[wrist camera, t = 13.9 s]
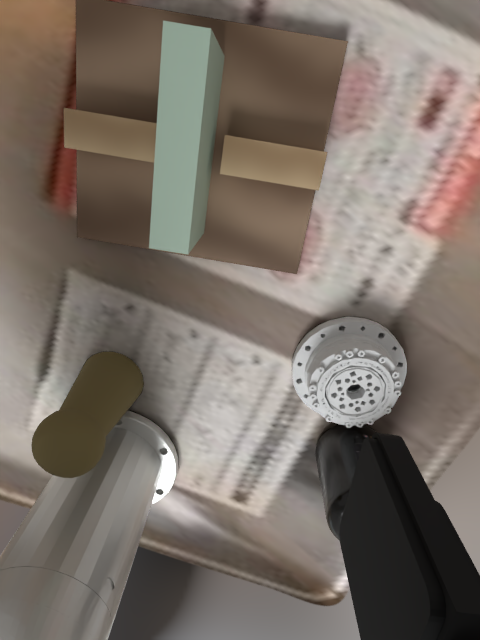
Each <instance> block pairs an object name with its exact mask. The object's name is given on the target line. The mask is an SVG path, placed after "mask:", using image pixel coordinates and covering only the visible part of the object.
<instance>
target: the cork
mask: <svg viewBox="0 0 480 640" xmlns="http://www.w3.org/2000/svg"><path fill="white" fill-rule="evenodd" d="M143 385H144V382H143V375H142V373H141V371H140V369H139V367H138V366H137V365H136V364H135V363H134V362H133V361H132V360H131V359H129V358H128V357H126V356H124V355H123V354H119V353H116V352H100V353H97V354H94V355H93V356H91V357H90V358H89V359H87V361H86V363H85V364H84V366H83V368H82V370H81V371H80V373H79V375H78V377H77V379H76V381H75V382H74V384H73V386H72V388H71V390H70V392H69V393H68V395H67V397H66V399H65V401H64V403H63V404H62V406H61V408H60V410H59V411H56V412H54V413H53V414H51V415H50V416H48V417H47V418H45V419H44V420H43V421H42V422H41V423H40V424H39V426H38V428H37V429H36V431H35V433H34V435H33V438H32V452H33V456H34V459H35V460H36V462H37V463H38V465H39V466H41V467H42V468H43V469H44V470H45V471H47V472H48V473H50V474H52V475H54V476H58V477H62V478H74V477H78V476H81V475H84V474H86V473H87V472H89V471H90V470H92V469H93V468H94V467H95V466H96V465H97V463H98V462H99V460H100V459H101V457H102V455H103V453H104V448H105V443H106V436H107V435H108V434H109V432H110V431H111V430H112V429H113V427H114V426H115V425H116V424H117V423H118V421H119V420H120V419H121V418H122V416H123V415H124V414H125V413H126V412H127V410H128V409H129V408H130V407H131V405H132V404H133V403H134V402H135V401H136V399H137V398H138V397H139V395H140V394H141V392H142V389H143Z"/></svg>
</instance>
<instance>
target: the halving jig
mask: <svg viewBox="0 0 480 640" xmlns="http://www.w3.org/2000/svg"><path fill="white" fill-rule="evenodd" d="M163 21H169V22H175V23H181V24H187V25H193V26H199V27H205V28H211V29H212V31H213V33H214V35H215V37H216V39H217V41H218V43H219V46H220V48H221V50H222V52H223V54H224V56H225V57H224V65H223V74H222V83H221V91H220V100H219V109H218V117H217V126H216V134H215V143H214V152H213V160H212V169H211V178H210V186H209V195H208V203H207V212H206V221H205V229H204V234H203V235H202V236H201V238H200V239H199V240H198V242H197V243H196V244H195V246H194V247H193V249H192V250H191V251H190V253H189V254H188V255H187V254H181V253H175V252H169V251H163V250H157V249H151V248H149V239H150V223H151V207H152V191H153V175H154V159H155V143H156V127H157V111H158V95H159V79H160V63H161V47H162V31H163ZM347 43H348V41H343V40H337V39H331V38H325V37H319V36H313V35H307V34H302V33H296V32H290V31H284V30H278V29H272V28H266V27H260V26H254V25H249V24H243V23H237V22H231V21H225V20H219V19H213V18H207V17H201V16H195V15H190V14H184V13H178V12H172V11H166V10H160V9H154V8H148V7H142V6H137V5H131V4H125V3H119V2H113V1H107V0H76V110H75V109H69V108H64V148H70V149H76V150H77V237H80V238H86V239H92V240H98V241H104V242H110V243H116V244H122V245H127V246H133V247H139V248H145V249H151V250H157V251H163V252H169V253H175V254H181V255H187V256H193V257H199V258H205V259H211V260H216V261H222V262H228V263H234V264H240V265H246V266H252V267H258V268H264V269H270V270H276V271H282V272H288V273H294V274H297V271H298V266H299V262H300V257H301V253H302V248H303V244H304V239H305V234H306V230H307V225H308V221H309V216H310V212H311V207H312V203H313V198H314V193H315V190H319V187H320V183H321V178H322V174H323V169H324V165H325V160H326V156H327V152H324V148H325V143H326V139H327V134H328V130H329V125H330V120H331V116H332V111H333V107H334V102H335V98H336V93H337V89H338V84H339V79H340V75H341V70H342V66H343V61H344V57H345V52H346V48H347Z"/></svg>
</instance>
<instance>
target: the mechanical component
mask: <svg viewBox="0 0 480 640" xmlns="http://www.w3.org/2000/svg"><path fill="white" fill-rule="evenodd" d="M341 325H342V326H341ZM406 373H407V361H406V358H405V354H404V351H403V349H402V347H401V346H400V344H399V342H398V341H397V339H396V338H395V336H394V335H393V334H392V333H391V332H390V331H389V330H388V329H387V328H385V327H384V326H382V325H380V324H379V323H377V322H374V321H372V320H369V319H366V318H358V317H348V316H347V317H343V318H338V319H333V320H329V321H327V322H324V323H322V324H320V325H318V326H317V327H315V328H314V329H313V330H311V331H310V332H309V333H307V334H306V336H305V337H304V338H303V339H302V341H301V342H300V343H299V345H298V346H297V348H296V351H295V353H294V356H293V358H292V378H293V384H294V387H295V389H296V392H297V394H298V395H299V397H300V398H301V400H302V401H303V402H304V404H306V405H307V406H308V407H309V408H311V409H312V410H313V411H315V412H317V413H319V414H320V415H322V416H323V417H324V418H326V421H327V422H334V423H337V424H340V425H346V427H347V428H351V427H352V426H354V425H356V426H357V427H362V426H363V424H368V425H372V424H373V423H374V421H376V420H377V419H379V418H380V417H382V416H383V415H385V414H386V413H387V414H389V413H390V412H392V411H391V408H392V407H393V406H394V405H395V403H396V401H397V399H398V397H399V396H400V395H401V392H400V390H401V388H402V386H403V385H404V381H405V377H406Z"/></svg>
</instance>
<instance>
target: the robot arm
mask: <svg viewBox="0 0 480 640" xmlns="http://www.w3.org/2000/svg"><path fill="white" fill-rule="evenodd" d="M177 472H178V456H177V452H176V450H175V447H174V445H173V443H172V441H171V440H170V438H169V437H168V436H167V434H166V433H165V432H164V431H163V430H162V429H161V428H160V427H159V426H157V425H156V424H155V423H154V422H152V421H151V420H149V419H147V418H145V417H143V416H142V415H139V414H136V413H134V412H131V411H127V412H126V413H125V414H124V415H123V416H122V418H121V419H120V420H119V421H118V423H117V424H116V425H115V426H114V427H113V429H112V430H111V431H110V432H109V434H108V435H107V436H106V443H105V448H104V453H103V455H102V457H101V459H100V460H99V462H98V463H97V465H96V466H95V467H94V468H93V469H92V470H90V471H89V472H87V473H86V474H84V475H81V476H78V477H74V478H62V477H58V476H54V475H53V476H52V477H51V479H50V480H49V482H48V483H47V485H46V486H45V488H44V490H43V491H42V493H41V494H40V496H39V497H38V499H37V500H36V502H35V503H34V505H33V506H32V508H31V509H30V511H29V513H28V514H27V516H26V517H25V519H24V520H23V522H22V523H21V525H20V526H19V528H18V530H17V531H16V533H15V534H14V536H13V537H12V538H11V540H10V542H9V543H8V545H7V546H6V548H5V549H4V551H3V552H2V554H1V555H0V640H107V639H108V637H109V634H110V631H111V627H112V624H113V621H114V618H115V615H116V612H117V609H118V606H119V603H120V600H121V597H122V594H123V591H124V588H125V584H126V581H127V578H128V575H129V572H130V569H131V566H132V563H133V560H134V557H135V554H136V551H137V547H138V545H139V542H140V538H141V535H142V532H143V529H144V526H145V523H146V520H147V517H148V514H149V511H150V508H151V505H152V504H153V503H155V502H157V501H159V500H160V499H162V498H163V497H164V496H165V495H166V494H167V493H168V492H169V491H170V490H171V488H172V486H173V484H174V482H175V479H176V476H177ZM339 537H340V544H341V549H342V553H343V558H344V563H345V567H346V572H347V577H348V582H349V586H350V591H351V596H352V600H353V605H354V610H355V614H356V619H357V623H358V628H359V633H360V638H361V640H480V575H479V573H478V572H477V570H476V568H475V566H474V564H473V562H472V560H471V558H470V556H469V555H468V553H467V551H466V549H465V547H464V545H463V543H462V542H461V540H460V538H459V536H458V534H457V532H456V530H455V528H454V527H453V525H452V523H451V521H450V519H449V517H448V515H447V513H446V512H445V510H444V509H443V507H442V506H441V504H440V503H438V502H437V501H435V500H434V498H433V496H432V494H431V492H430V490H429V488H428V487H427V485H426V483H425V481H424V479H423V477H422V475H421V473H420V471H419V469H418V467H417V465H416V463H415V462H414V460H413V458H412V456H411V454H410V452H409V450H408V448H407V446H406V444H405V442H404V440H403V439H402V437H400V436H397V435H389V434H381V433H374V434H373V435H372V437H371V439H369V438H366V439H364V441H363V444H362V448H361V451H360V455H359V458H358V462H357V466H356V469H355V473H354V476H353V480H352V483H351V487H350V491H349V494H348V498H347V501H346V505H345V509H344V512H343V516H342V519H341V523H340V530H339Z"/></svg>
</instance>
